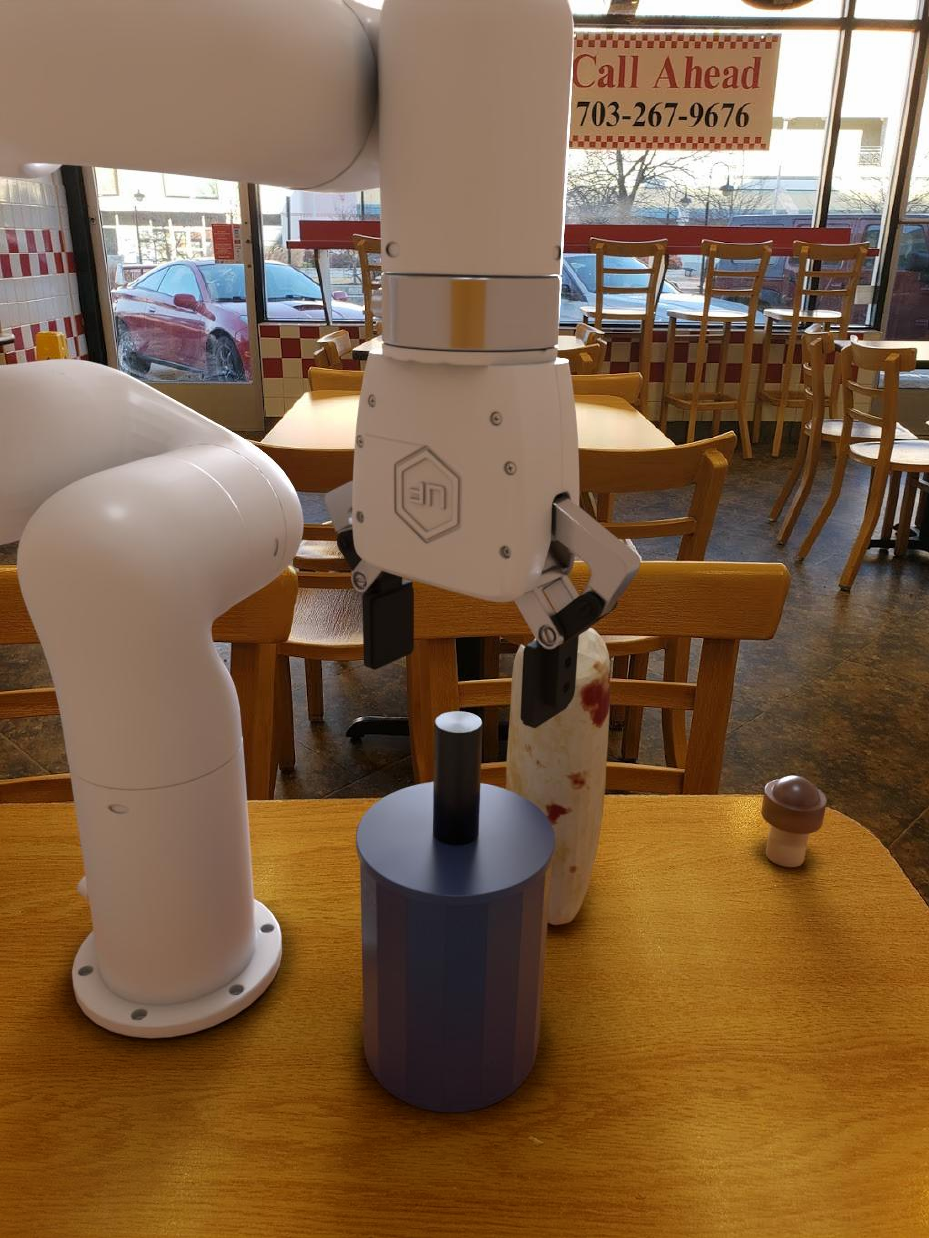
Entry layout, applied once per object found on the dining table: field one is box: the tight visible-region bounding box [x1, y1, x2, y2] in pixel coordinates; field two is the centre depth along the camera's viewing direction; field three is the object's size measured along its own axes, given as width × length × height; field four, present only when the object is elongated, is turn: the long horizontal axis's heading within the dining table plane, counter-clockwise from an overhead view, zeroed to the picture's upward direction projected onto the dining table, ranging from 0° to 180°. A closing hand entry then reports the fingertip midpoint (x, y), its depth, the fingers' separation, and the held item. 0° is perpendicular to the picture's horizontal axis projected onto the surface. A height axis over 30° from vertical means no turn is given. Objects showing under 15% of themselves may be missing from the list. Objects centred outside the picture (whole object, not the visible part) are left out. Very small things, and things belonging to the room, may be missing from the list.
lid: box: [355, 710, 555, 906], centre depth 48 cm, size 10×10×8 cm
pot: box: [359, 862, 552, 1114], centre depth 52 cm, size 10×10×14 cm
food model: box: [505, 627, 611, 926], centre depth 63 cm, size 10×7×20 cm
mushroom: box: [760, 775, 828, 868], centre depth 70 cm, size 4×4×7 cm
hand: (462, 686), depth 46 cm, fingers open, 9 cm apart
